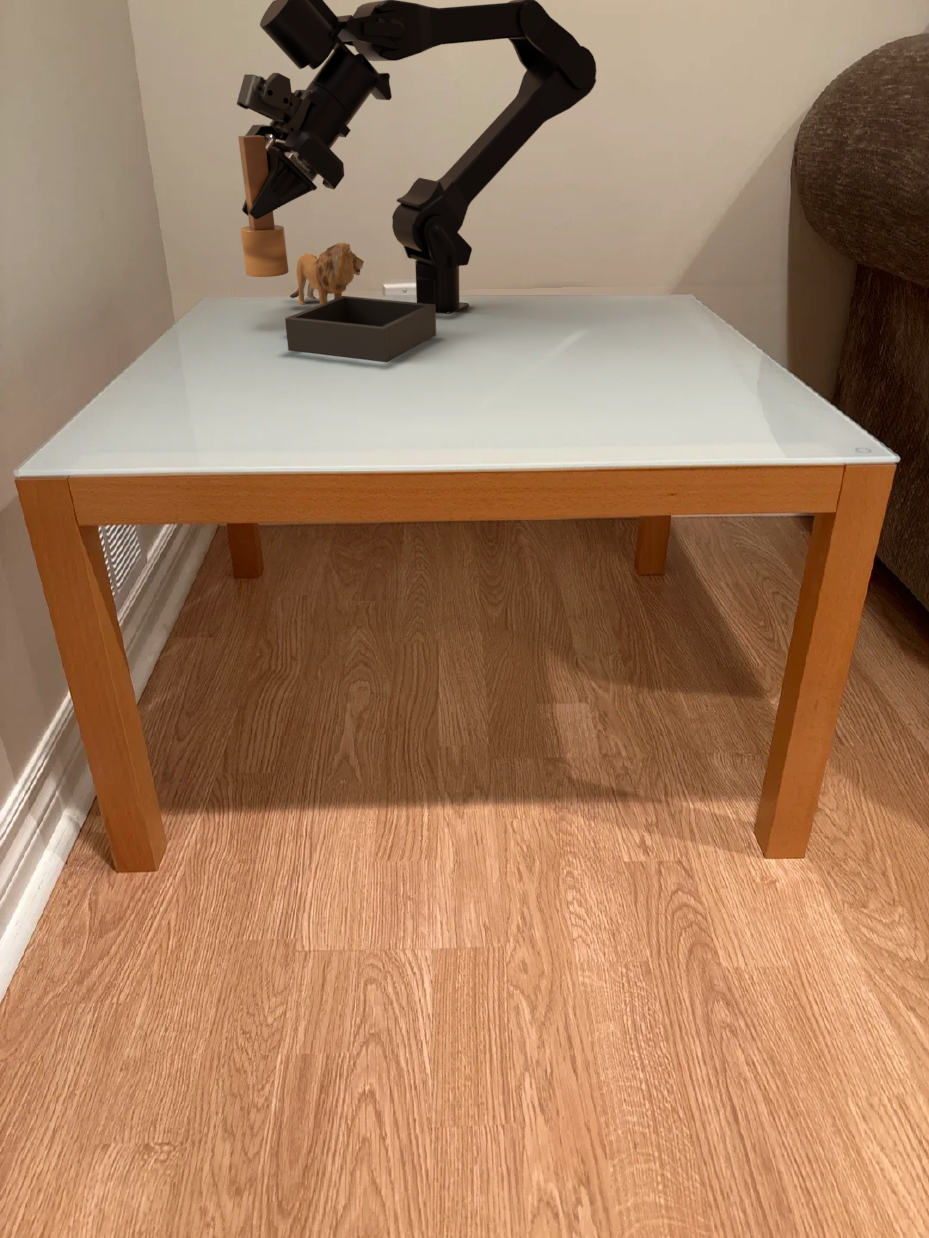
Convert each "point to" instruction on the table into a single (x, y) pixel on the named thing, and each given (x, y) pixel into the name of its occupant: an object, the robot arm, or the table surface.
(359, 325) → the box
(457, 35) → the robot arm
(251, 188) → the wooden peg stand
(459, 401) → the table surface
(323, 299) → the lion figurine
